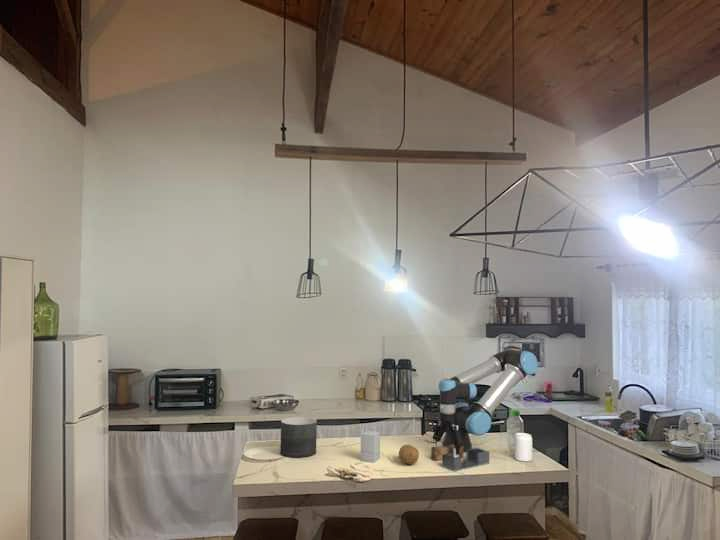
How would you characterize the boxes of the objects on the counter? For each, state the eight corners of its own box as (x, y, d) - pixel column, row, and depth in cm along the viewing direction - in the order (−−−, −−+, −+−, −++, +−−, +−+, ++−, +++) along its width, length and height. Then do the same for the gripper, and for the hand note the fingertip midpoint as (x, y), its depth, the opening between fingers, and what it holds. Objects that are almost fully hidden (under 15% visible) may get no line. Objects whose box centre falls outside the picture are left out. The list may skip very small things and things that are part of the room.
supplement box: (380, 458, 255) (380, 432, 256) (374, 462, 249) (374, 435, 249) (366, 456, 258) (366, 430, 259) (360, 460, 252) (360, 433, 252)
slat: (435, 461, 252) (435, 449, 252) (431, 459, 255) (431, 447, 256) (463, 458, 259) (463, 445, 259) (459, 456, 262) (459, 443, 262)
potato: (415, 458, 256) (415, 441, 256) (421, 467, 242) (421, 450, 243) (395, 459, 255) (395, 442, 256) (400, 468, 241) (400, 450, 242)
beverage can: (533, 463, 251) (533, 437, 252) (515, 461, 253) (515, 436, 254) (531, 458, 259) (531, 433, 260) (514, 457, 261) (514, 432, 262)
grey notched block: (454, 471, 237) (454, 458, 237) (442, 466, 244) (442, 454, 244) (489, 463, 249) (489, 451, 250) (476, 459, 256) (476, 447, 256)
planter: (273, 455, 259) (274, 422, 260) (291, 446, 275) (292, 415, 276) (305, 459, 252) (306, 426, 253) (322, 450, 268) (322, 418, 269)
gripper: (425, 408, 266) (425, 453, 265) (459, 417, 246) (459, 465, 245) (436, 407, 270) (436, 451, 269) (470, 416, 250) (470, 463, 249)
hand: (447, 458), depth 257 cm, fingers open, 11 cm apart
